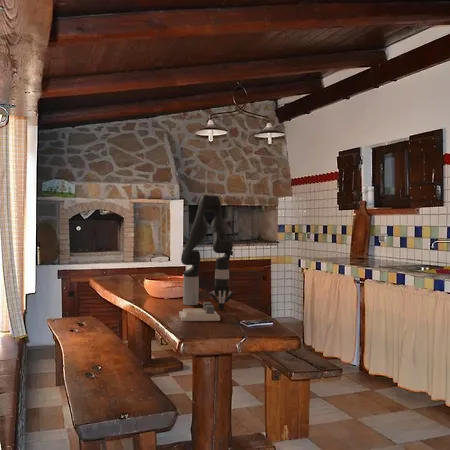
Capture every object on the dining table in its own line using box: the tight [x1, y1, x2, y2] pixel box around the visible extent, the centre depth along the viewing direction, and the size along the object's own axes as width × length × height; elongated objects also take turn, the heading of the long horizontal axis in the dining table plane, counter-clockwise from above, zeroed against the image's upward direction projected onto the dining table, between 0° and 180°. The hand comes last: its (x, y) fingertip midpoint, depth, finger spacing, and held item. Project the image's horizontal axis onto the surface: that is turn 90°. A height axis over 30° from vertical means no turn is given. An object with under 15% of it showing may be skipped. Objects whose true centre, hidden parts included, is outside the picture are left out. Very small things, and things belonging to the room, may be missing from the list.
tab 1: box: [202, 301, 213, 310], centre depth 299 cm, size 4×4×5 cm
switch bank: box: [178, 308, 221, 322], centre depth 293 cm, size 16×20×4 cm
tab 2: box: [206, 304, 215, 314], centre depth 290 cm, size 4×4×5 cm
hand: (221, 310), depth 291 cm, fingers closed
